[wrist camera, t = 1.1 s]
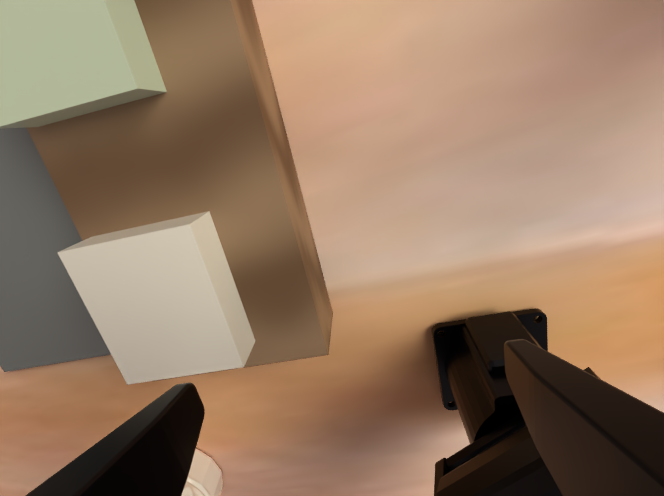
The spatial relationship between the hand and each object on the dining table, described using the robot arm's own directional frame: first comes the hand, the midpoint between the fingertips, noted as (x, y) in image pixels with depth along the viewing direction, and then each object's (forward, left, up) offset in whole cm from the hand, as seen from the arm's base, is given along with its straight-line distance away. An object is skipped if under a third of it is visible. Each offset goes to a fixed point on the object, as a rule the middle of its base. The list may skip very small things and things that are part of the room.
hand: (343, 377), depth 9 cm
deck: (+6, +7, -12) cm, 15 cm away
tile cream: (0, +9, -8) cm, 12 cm away
